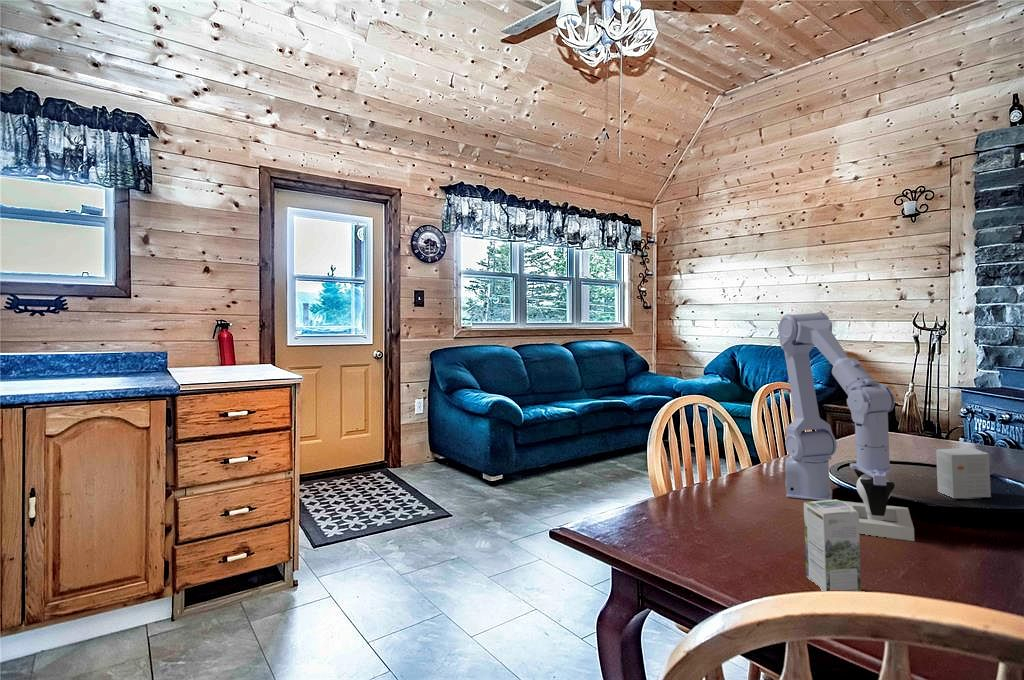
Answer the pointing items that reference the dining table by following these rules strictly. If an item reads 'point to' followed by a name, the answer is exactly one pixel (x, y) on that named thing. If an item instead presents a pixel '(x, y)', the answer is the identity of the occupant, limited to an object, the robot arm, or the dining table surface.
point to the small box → (963, 472)
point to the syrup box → (832, 545)
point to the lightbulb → (865, 499)
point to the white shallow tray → (884, 528)
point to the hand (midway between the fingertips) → (874, 509)
